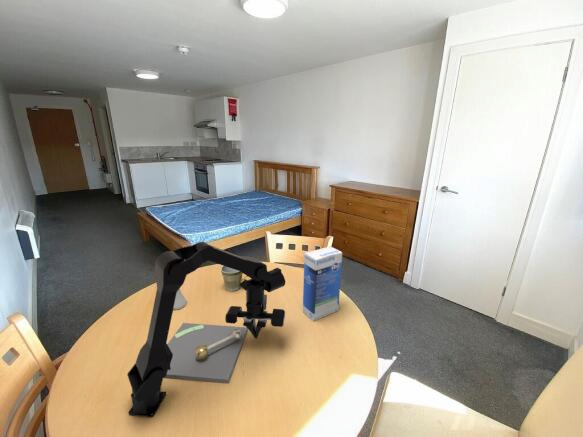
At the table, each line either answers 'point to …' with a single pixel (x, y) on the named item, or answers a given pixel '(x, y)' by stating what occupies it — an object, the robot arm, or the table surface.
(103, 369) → the table surface
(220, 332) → the dial board
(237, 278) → the ceramic cup
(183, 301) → the flask
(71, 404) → the table surface
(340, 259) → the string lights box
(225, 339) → the lever
